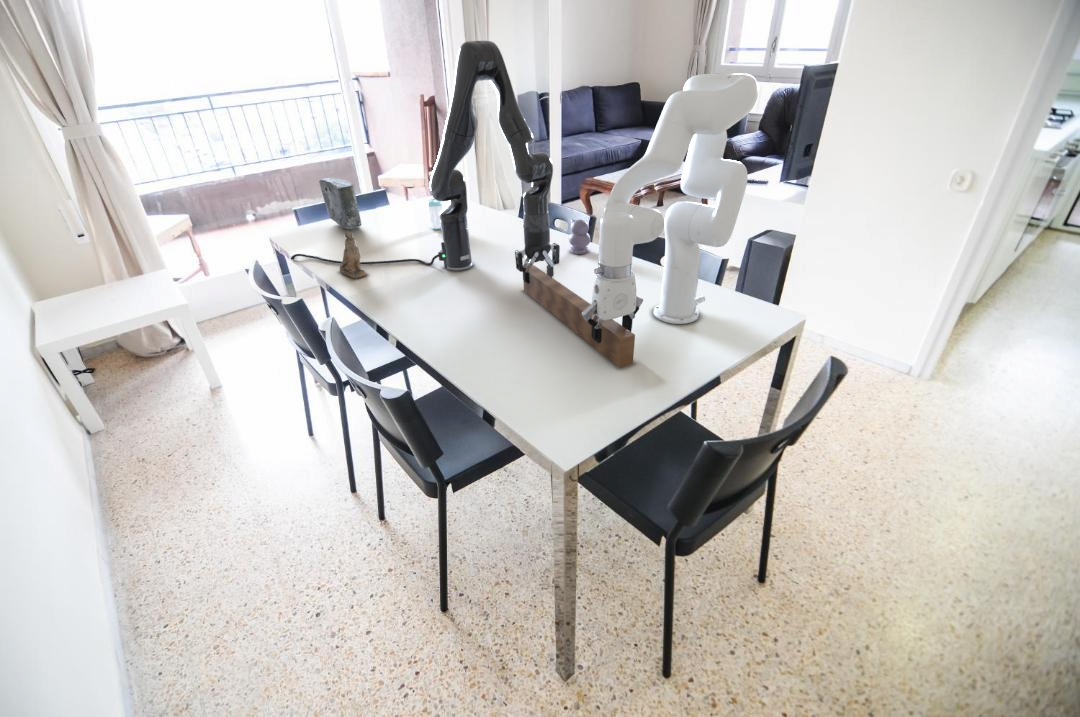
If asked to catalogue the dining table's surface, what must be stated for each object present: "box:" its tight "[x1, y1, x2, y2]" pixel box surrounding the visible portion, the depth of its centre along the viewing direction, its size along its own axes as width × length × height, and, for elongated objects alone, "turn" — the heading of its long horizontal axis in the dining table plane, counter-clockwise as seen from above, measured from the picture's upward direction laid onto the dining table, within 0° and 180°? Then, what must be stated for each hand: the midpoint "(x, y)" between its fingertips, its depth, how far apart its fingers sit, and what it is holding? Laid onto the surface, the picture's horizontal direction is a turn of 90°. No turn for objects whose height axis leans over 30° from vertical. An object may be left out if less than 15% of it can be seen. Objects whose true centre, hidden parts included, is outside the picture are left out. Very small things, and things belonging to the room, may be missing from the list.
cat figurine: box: [568, 218, 591, 255], centre depth 187 cm, size 8×8×12 cm
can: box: [426, 198, 445, 230], centre depth 220 cm, size 7×7×12 cm
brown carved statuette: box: [339, 229, 367, 280], centre depth 174 cm, size 12×6×18 cm, turn 43°
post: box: [522, 264, 636, 369], centre depth 138 cm, size 53×4×8 cm, turn 27°
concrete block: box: [318, 176, 362, 230], centre depth 224 cm, size 27×9×20 cm, turn 36°
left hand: (538, 280), depth 152 cm, fingers open, 7 cm apart
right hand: (611, 335), depth 122 cm, fingers open, 8 cm apart
